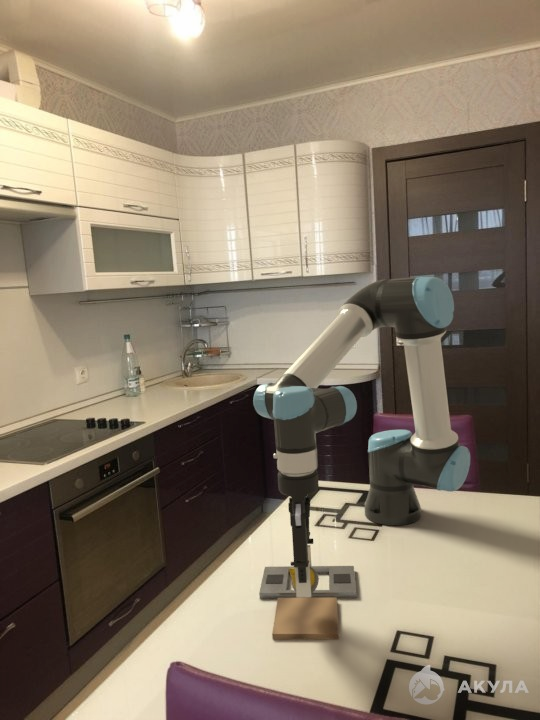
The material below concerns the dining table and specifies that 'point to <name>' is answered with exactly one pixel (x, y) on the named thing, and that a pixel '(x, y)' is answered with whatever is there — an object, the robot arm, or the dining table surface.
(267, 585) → the grey rectangular frame
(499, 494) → the dining table surface
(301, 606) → the pad
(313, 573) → the yellow knob cap
